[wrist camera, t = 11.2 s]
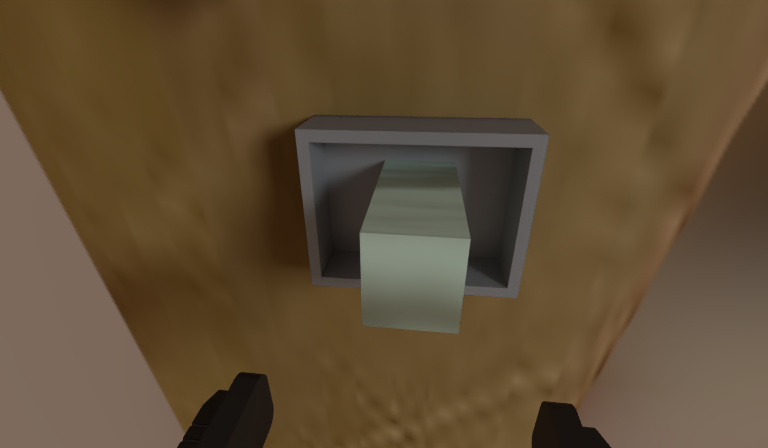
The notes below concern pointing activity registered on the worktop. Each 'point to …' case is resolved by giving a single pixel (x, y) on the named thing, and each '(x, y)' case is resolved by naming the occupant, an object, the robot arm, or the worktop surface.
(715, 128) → the worktop surface
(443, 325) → the sage block
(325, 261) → the bin
